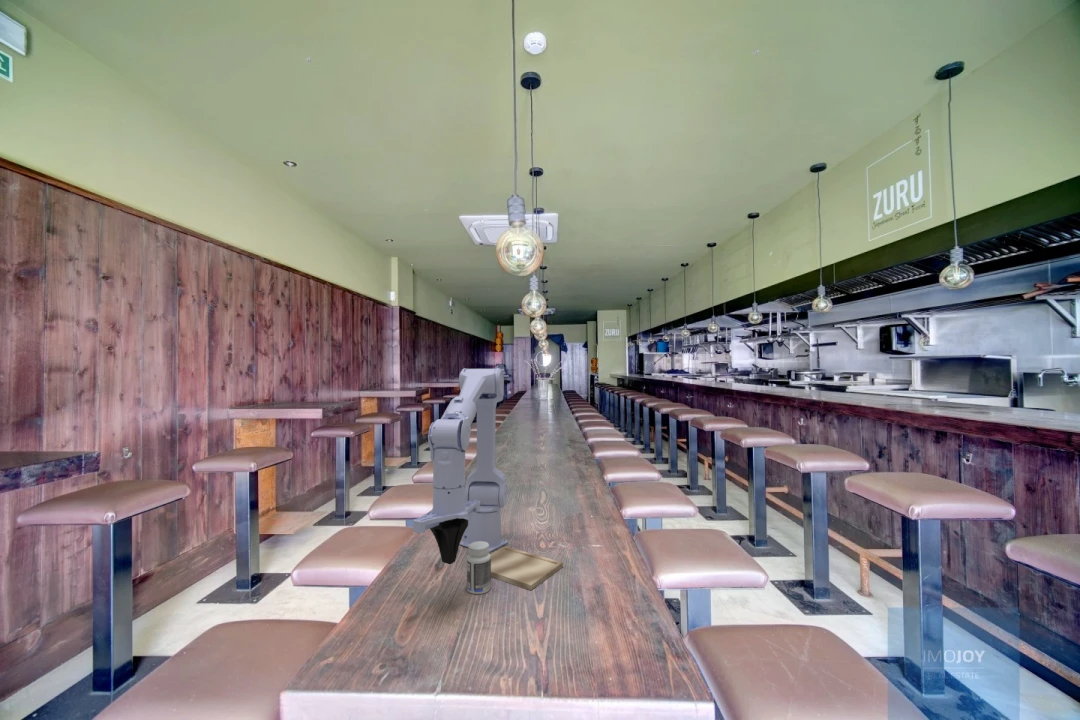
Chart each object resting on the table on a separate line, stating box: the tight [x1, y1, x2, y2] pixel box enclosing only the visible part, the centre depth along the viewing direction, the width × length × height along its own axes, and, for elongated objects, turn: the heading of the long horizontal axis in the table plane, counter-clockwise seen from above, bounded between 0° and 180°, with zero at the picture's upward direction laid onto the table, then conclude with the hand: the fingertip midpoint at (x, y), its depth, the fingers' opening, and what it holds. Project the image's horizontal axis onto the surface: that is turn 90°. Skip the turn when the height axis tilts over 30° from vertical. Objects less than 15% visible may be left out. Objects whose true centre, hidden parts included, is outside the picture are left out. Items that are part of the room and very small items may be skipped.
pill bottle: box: [466, 541, 492, 595], centre depth 81 cm, size 5×5×8 cm
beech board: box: [489, 546, 564, 591], centre depth 89 cm, size 16×12×1 cm
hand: (448, 561), depth 74 cm, fingers closed
